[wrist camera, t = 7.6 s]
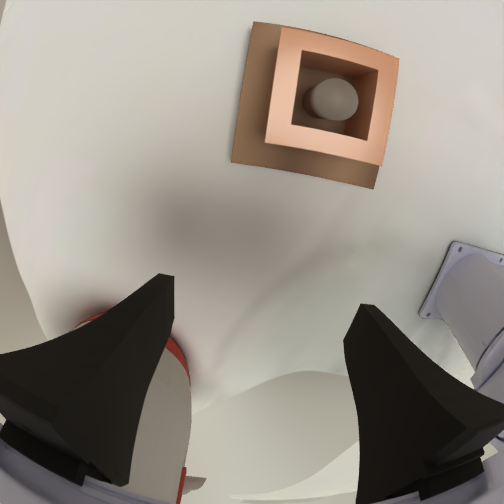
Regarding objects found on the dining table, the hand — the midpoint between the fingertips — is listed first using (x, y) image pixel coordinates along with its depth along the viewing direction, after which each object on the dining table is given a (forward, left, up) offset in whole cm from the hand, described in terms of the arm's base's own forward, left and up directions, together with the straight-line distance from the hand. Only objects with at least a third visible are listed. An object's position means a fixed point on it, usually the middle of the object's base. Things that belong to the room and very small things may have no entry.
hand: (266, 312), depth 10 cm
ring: (-2, -8, -8) cm, 12 cm away
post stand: (-2, -8, -10) cm, 13 cm away
